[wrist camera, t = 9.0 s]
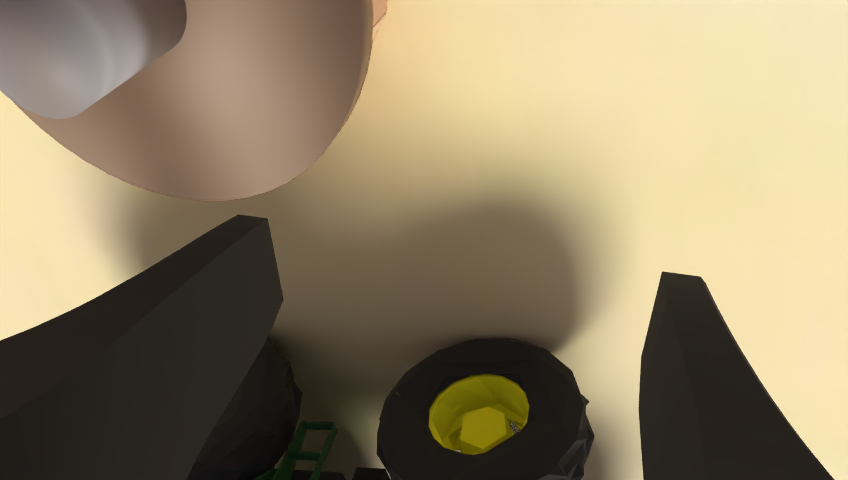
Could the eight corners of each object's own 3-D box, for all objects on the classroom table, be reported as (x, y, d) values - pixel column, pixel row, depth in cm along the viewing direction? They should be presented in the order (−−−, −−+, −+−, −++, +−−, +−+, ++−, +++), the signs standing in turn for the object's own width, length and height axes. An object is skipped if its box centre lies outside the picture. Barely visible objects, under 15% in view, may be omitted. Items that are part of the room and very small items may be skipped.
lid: (321, -355, 12) (198, -383, 9) (401, 194, 19) (350, 298, 16) (-162, -270, 15) (-393, -267, 12) (56, 178, 22) (-51, 262, 19)
